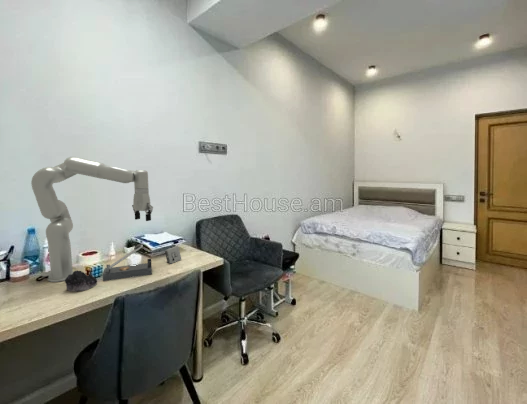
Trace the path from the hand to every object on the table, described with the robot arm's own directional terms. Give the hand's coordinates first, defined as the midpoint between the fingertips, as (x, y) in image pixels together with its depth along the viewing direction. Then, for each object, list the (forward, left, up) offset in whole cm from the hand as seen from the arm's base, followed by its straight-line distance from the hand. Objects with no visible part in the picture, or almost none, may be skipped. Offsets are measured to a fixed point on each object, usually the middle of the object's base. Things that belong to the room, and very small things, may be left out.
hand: (143, 219), depth 161 cm
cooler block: (-9, -10, -29) cm, 32 cm away
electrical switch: (+16, +4, -29) cm, 34 cm away
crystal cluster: (-29, -18, -29) cm, 45 cm away
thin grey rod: (-10, -10, -19) cm, 24 cm away
